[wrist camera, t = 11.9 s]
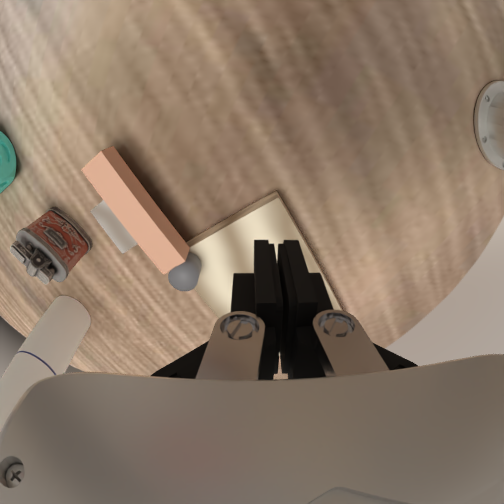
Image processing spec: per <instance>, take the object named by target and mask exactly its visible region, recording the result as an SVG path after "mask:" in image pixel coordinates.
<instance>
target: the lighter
mask: <svg viewBox="0 0 504 504" xmlns="http://www.w3.org/2000/svg"><path fill="white" fill-rule="evenodd" d="M16 240H17V241H16V242H14V243H13V244H12V245H11V247H10V252H11V253H12V254H13V255H14V256H15V257H16V258H17V259H18V260H19V261H20V262H21V263H22V264H24V265H25V266H26V268H27V273H28V274H29V275H30V276H32V277H34V276H35V277H38V278H39V279H40V280H41V281H42V282H43V283H44V284H48V283H49V282H50V280H51V279H54V280H55V281H57V282H62V281H64V280H65V279H66V277H67V276H68V274H69V272H70V270H71V269H72V268H73V267H74V266H75V265H76V263H77V262H78V261H79V260H80V259H81V258H82V257H83V255H85V254H87V253H88V252H89V251H90V249H91V248H92V241H91V239H90V238H89V236H88V235H87V234H86V233H85V231H84V230H83V229H82V228H81V227H80V226H79V225H78V224H77V223H76V222H75V221H74V220H73V219H72V218H71V217H69V216H68V215H67V214H66V213H64V212H63V211H61V210H60V209H58V208H57V207H52V208H50V209H49V210H47V211H46V213H45V214H44V215H42V216H41V217H40V218H38V219H37V220H36V221H34V222H33V223H32V224H30V225H29V226H28V227H26V228H23V229H21V230H20V231H19V232H18V233H17V236H16Z"/></svg>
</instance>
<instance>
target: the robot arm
mask: <svg viewBox="0 0 504 504" xmlns="http://www.w3.org/2000/svg"><path fill="white" fill-rule="evenodd" d="M474 126H475V134H476V138H477V143H478V145H479V148H480V150H481V152H482V154H483V156H484V157H485V158H486V160H487V161H488V162H489V163H490V164H492V165H493V166H495V167H497V168H499V169H502V170H504V81H493V82H491V83H489V84H488V85H486V86H485V87H484V88H483V90H482V91H481V93H480V95H479V97H478V99H477V103H476V107H475V114H474ZM279 353H280V359H281V369H282V374H284V373H288V379H280V380H273V376H274V374H277V373H278V364H279ZM0 504H504V354H488V355H479V356H473V357H468V358H462V359H457V360H450V361H446V362H440V363H435V364H429V365H423V366H418V365H416V364H414V363H413V362H411V361H409V360H407V359H405V358H402V357H401V356H398V355H396V354H394V353H392V352H390V351H388V350H386V349H384V348H382V347H380V346H378V345H376V344H374V343H372V341H371V340H370V338H369V337H368V335H367V334H366V332H365V331H364V329H363V327H362V326H361V324H360V323H359V321H358V320H357V319H356V318H355V317H354V316H353V315H351V314H350V313H348V312H345V311H342V310H334V309H333V306H332V303H331V300H330V297H329V295H328V292H327V289H326V286H325V284H324V281H323V278H322V275H321V273H309V271H308V268H307V265H306V262H305V259H304V255H303V252H302V249H301V246H300V243H299V240H284V241H283V244H278V255H277V259H276V253H275V246H274V244H269V241H268V240H254V273H234V274H233V285H232V298H231V311H230V313H227V314H225V315H223V316H221V317H220V318H219V319H218V320H217V322H216V323H215V326H214V329H213V331H212V334H211V337H210V340H209V341H208V342H206V343H204V344H203V345H201V346H199V347H198V348H196V349H194V350H193V351H191V352H189V353H187V354H186V355H184V356H182V357H181V358H179V359H177V360H175V361H174V362H172V363H170V364H168V365H167V366H165V367H163V368H161V369H160V370H158V371H156V372H155V373H154V374H152V375H151V376H144V375H129V374H117V373H107V372H75V373H66V374H60V375H54V376H51V377H47V378H44V379H41V380H39V381H37V382H36V383H34V384H33V385H32V386H30V387H29V388H28V389H27V390H26V391H25V393H24V394H23V395H22V396H21V398H20V399H19V400H18V402H17V403H16V405H15V407H14V408H13V410H12V411H11V413H10V415H9V416H8V418H7V420H6V422H5V424H4V426H3V428H2V430H1V432H0Z"/></svg>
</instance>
